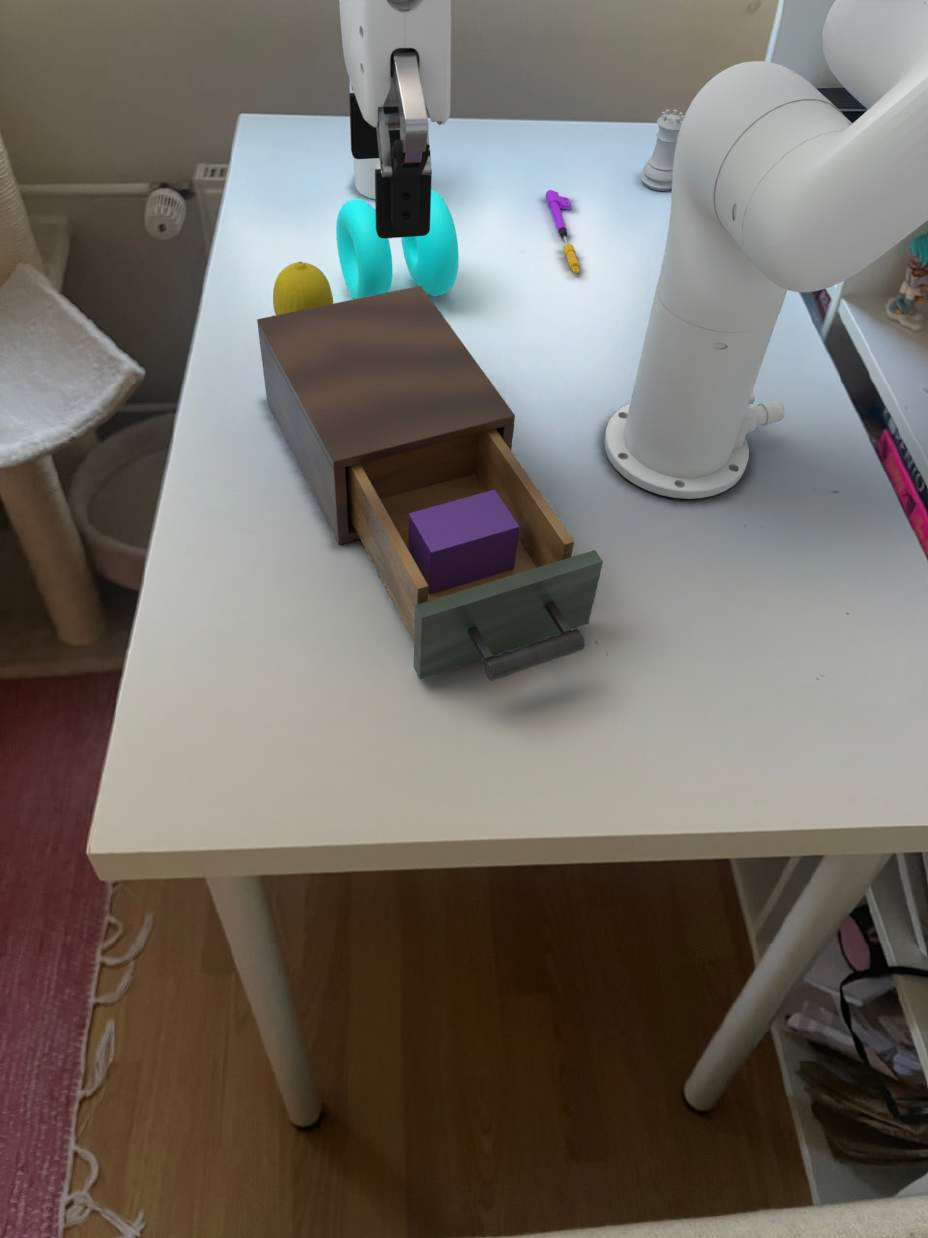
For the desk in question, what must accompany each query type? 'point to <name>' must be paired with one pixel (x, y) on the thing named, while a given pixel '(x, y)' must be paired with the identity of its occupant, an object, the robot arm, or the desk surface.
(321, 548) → the desk surface
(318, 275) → the lemon
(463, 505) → the purple block
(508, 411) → the desk cabinet
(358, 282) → the donuts
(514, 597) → the drawer
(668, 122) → the rook chess piece
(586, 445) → the desk surface
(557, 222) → the purple and yellow tool
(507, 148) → the desk surface
